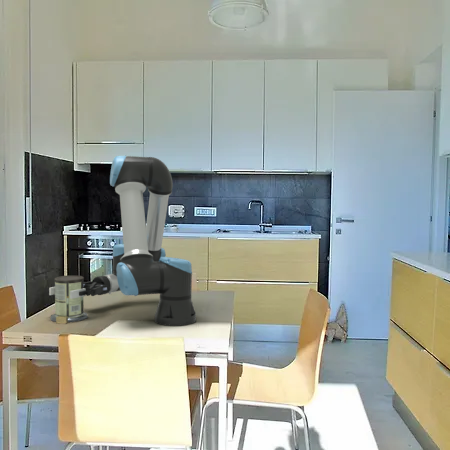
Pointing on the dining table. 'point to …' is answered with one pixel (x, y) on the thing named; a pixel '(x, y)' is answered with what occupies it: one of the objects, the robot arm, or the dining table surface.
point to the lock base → (65, 318)
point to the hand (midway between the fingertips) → (60, 293)
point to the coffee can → (68, 296)
